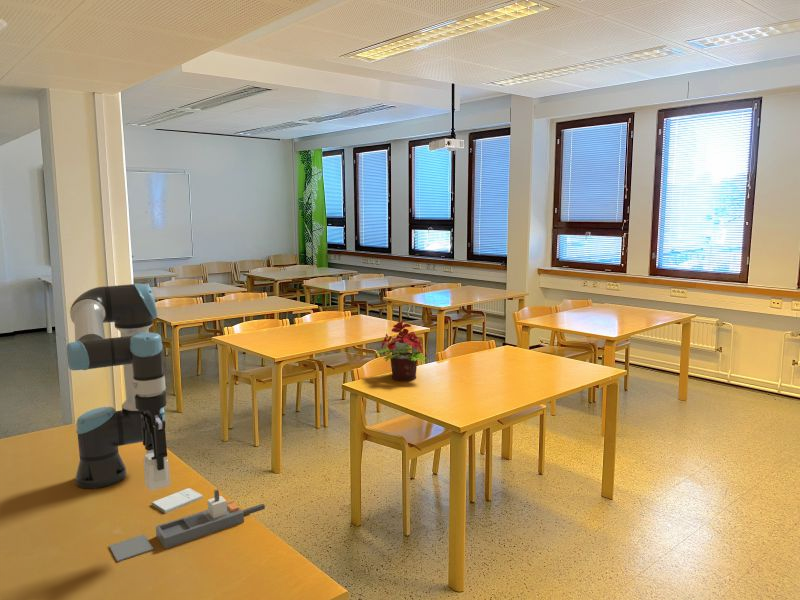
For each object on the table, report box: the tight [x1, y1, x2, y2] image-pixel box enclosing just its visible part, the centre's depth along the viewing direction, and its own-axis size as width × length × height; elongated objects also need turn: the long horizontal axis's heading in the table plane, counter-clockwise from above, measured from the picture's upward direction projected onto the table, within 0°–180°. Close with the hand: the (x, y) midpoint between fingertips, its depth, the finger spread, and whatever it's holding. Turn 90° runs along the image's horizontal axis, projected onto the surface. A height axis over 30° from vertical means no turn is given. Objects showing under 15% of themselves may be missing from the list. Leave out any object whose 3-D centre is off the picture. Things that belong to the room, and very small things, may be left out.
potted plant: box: [373, 321, 428, 382], centre depth 313 cm, size 30×27×30 cm
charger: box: [142, 452, 171, 492], centre depth 162 cm, size 5×5×8 cm
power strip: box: [155, 489, 266, 550], centre depth 172 cm, size 30×8×10 cm, turn 127°
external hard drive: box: [151, 487, 204, 514], centre depth 187 cm, size 2×8×12 cm
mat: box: [108, 534, 155, 563], centre depth 162 cm, size 9×9×1 cm
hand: (157, 476), depth 162 cm, fingers closed on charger, 5 cm apart
